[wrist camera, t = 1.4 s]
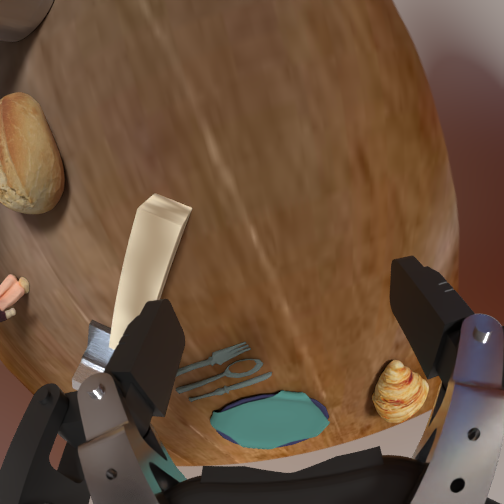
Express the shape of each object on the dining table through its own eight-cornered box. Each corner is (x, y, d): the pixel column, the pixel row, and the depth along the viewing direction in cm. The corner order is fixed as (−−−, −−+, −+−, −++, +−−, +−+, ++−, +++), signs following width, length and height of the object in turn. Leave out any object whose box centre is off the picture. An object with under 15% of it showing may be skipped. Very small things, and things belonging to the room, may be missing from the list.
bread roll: (46, 69, 19) (-3, 66, 12) (92, 180, 25) (48, 204, 18) (-1, 120, 21) (-46, 130, 13) (41, 219, 27) (0, 248, 20)
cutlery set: (250, 447, 49) (250, 456, 47) (151, 371, 38) (147, 382, 36) (340, 420, 46) (342, 430, 43) (269, 324, 34) (270, 337, 32)
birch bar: (121, 321, 33) (108, 347, 29) (155, 192, 26) (137, 208, 22) (149, 332, 34) (139, 360, 30) (192, 207, 27) (181, 225, 22)
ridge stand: (88, 360, 37) (70, 398, 30) (92, 319, 33) (67, 361, 26) (145, 385, 39) (134, 426, 32) (158, 348, 35) (144, 395, 28)
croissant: (366, 348, 41) (356, 391, 35) (426, 342, 35) (423, 388, 29) (386, 403, 49) (378, 436, 43) (430, 401, 42) (425, 436, 37)
